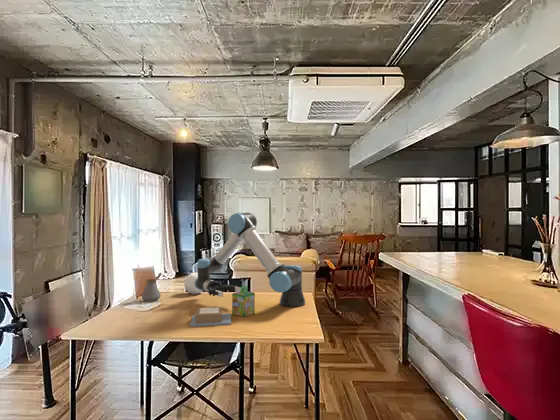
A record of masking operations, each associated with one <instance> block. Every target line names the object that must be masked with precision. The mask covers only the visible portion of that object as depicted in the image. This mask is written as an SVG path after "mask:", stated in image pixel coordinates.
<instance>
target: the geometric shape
mask: <svg viewBox="0 0 560 420" xmlns="http://www.w3.org/2000/svg"><path fill="white" fill-rule="evenodd" d="M197 278H198V271H197V272H196V271H195V272H191V273H189V274H188V275H187V276H186V277H185V279H184V282H183V283H184V290H186V292H187V293H188V294H192V295H197V294H201V293H202V292H203V291H202V290H199V289H197V288H196V287H195V281H196V279H197Z"/></svg>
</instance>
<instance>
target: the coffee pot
mask: <svg viewBox="0 0 560 420" xmlns="http://www.w3.org/2000/svg"><path fill="white" fill-rule="evenodd" d="M160 276H161V277H162V276H163V273H162V272H160V273H159V274H158V275H157V276H156V278H154V279H152V278H151V279H145V282H146V285H145V287H144V290H143V293H142V295H141V299H142V300H143V301H144V302H146V301H153V302H158V300H160V298H161V292H160V290H159V289H158V286H157V284H156V282H157V280H158V279H159V278H160Z"/></svg>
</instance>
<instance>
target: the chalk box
mask: <svg viewBox="0 0 560 420" xmlns="http://www.w3.org/2000/svg"><path fill="white" fill-rule="evenodd" d="M240 288H241V290H240V292H234V293H233V292H232V293H231V294H232V295H231V299H232V301H231V315H233V316H239V317H242V318H245V317H248V316H250V315H253V314H255V311H256V310H255V308H256V307H255V304H256V303H255V302H256V301H255V300H256V297H255V296H256V295H255V292H251V291H248V290H249V289H248V286H240Z"/></svg>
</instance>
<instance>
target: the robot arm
mask: <svg viewBox="0 0 560 420" xmlns="http://www.w3.org/2000/svg"><path fill="white" fill-rule="evenodd" d="M257 225H258V220H257V217H256V216H255V215H254V213H250V212H236V213H233V214H231V215H230V216H229V218H228V220H227V228H228V230H229V232H231V233H232V235H230V237H229V238H228V239H227V241H226V242H225V243H224V245H223V246H222V247H221V248H220V250H219V251H218V252H217V253H216V255H214V257H213V258H212V259H211V260H210V259H209V258H200V259H198V260H197V265H196V266H197V267H196V268H197V273H198V278H197V279H196V281H195V287H196V288H197V289H199V290H202V292H206V293H208V295H209V296H212V297H215V296H217V297H221V298H223V297H224V296H223V295H224V292H231V291H232V292H234V293H237V292H240V290H241V287H240V285H237V284H236V285H232V284H223V285H222V284H220V282H218V281H217V280H213V279H211V273H215V272H218V271H220V270H223V268H224V265H225V264H226V261H227V260H228V259H229V258H230V257H231V256H232V255H233V253H234V252H235V251H236V249H238V247H239V246H240V245H241V244H242V243H243V241H244V242H245V243H246V245H247V246H248V247H249V249H250V250H251V251H252V253H253V255H254V256H255V258H256V259H257V260H258V261H259V262H260V263H261V265H262V267H263V268H264V269H265V271H266V273H267V274H266V276H267V278H268V280H269V286H270V287H271V289H272V290H273V291H274V292H277V293H281V296H280V299H279V305H281V306H283V307H289V308H290V307H291V308H293V307H294V308H295V307H297V308H298V307H302V306H304V305H306V298H305V296H304V293H303V271H302V270H303V269H302V268H303V267H302V266H301V265H291V264H290V265H288V264H287V265H286V264H284V263H281V262H279V260H278V258H277V257H276V256H275V255H274V253H273V252H272V251H271V250H270V248H269V247H268V246H267V243H265V242H264V240H263V239H262V237H261V236H260V235H259V234H258V232H257V231H256V229H257V228H256V227H257Z"/></svg>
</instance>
